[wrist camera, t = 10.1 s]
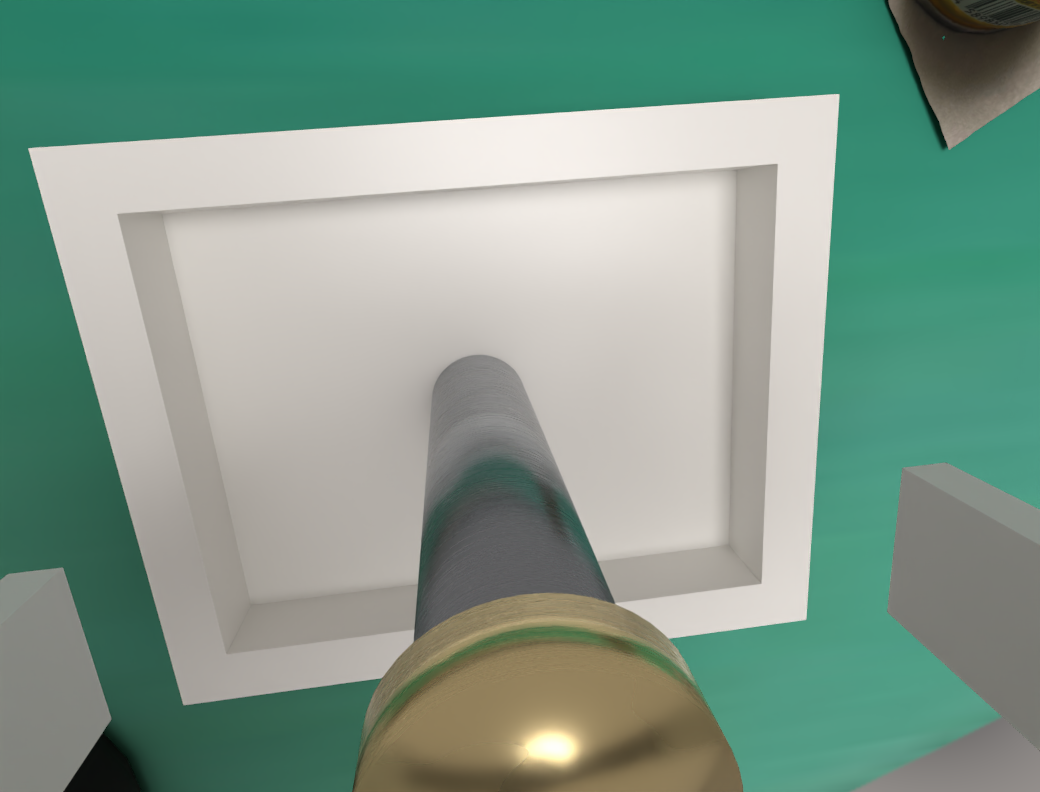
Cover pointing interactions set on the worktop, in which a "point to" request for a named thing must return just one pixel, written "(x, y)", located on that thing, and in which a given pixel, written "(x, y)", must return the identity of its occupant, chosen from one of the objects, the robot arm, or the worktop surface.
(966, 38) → the condiment
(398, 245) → the tray
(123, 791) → the coffee jar
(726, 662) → the worktop surface
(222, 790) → the worktop surface
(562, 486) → the steel pin
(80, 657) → the robot arm
